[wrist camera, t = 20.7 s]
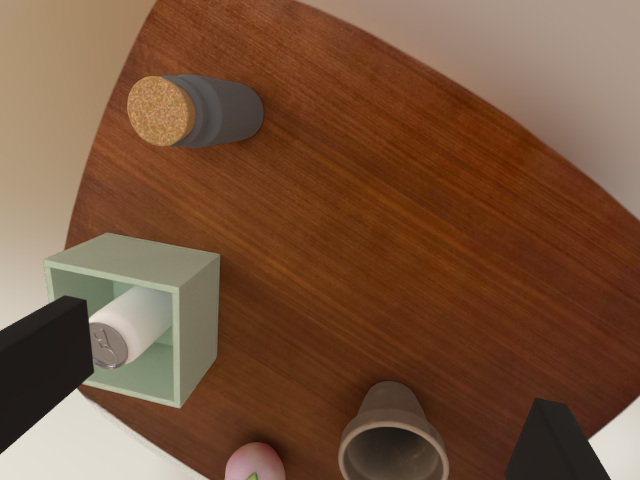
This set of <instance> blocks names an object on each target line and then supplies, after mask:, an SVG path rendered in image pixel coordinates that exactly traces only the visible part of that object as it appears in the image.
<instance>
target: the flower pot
mask: <svg viewBox="0 0 640 480" xmlns="http://www.w3.org/2000/svg"><path fill="white" fill-rule="evenodd" d="M338 461H339V467H340V470H341V473H342V475H343V477H344V478H345V480H447V478H448V474H449V462H448V458H447V455H446V450H445V447H444V443H443V440H442V438H441V436H440V435H439V433H438V432H437V430H436V429H435V428H434V427H433V426H432V425H431V424H430V423H429V422H428V421H427V419H426V417H425V414H424V412H423V410H422V408H421V406H420V404H419V402H418V400H417V398H416V396H415V395H414V393H413V392H412V391H411V390H410V389H409V388H408V387H407V386H405V385H403V384H401V383H399V382H395V381H383V382H380V383H377V384H375V385H374V386H372V387H371V388H370V389H369V391H368V392H367V394H366V396H365V398H364V400H363V402H362V404H361V407H360V409H359V411H358V414H357V416H356V417H355V418H353V419H352V420H351V421H350V422H349V423H348V425H347V426H346V428H345V429H344V431H343V434H342V437H341V442H340V448H339V453H338Z"/></svg>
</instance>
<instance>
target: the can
mask: <svg viewBox="0 0 640 480" xmlns="http://www.w3.org/2000/svg"><path fill="white" fill-rule="evenodd" d="M172 324H173V308H172V293H171V292H166V291H161V290H156V289H151V288H147V287H142V286H137V285H136V286H134V287H133V288H131V289H130V290H128V291H127V292H125V293H124V294H122V295H121V296H119V297H118V298H116V299H115V300H113V301H112V302H110V303H109V304H107V305H106V306H104V307H103V308H102V309H100V310H99V311H97V312H96V313H95V314H93V315H92V316H91V317H90V318H89V327H90V336H91V346H92V355H93V365H95V366H97V367H99V368H101V369H105V370H116V369H119V368H121V367H122V366H123V365H124V364H128V363H130V362H132V361H134V360H135V359H136V358H137V357H139V356H140V355H141V354H142V353H143V352H144V351H145V350H146V349H147V348H148V347H149V346H150V345H151V344H152V343H153V342H154V341H156V340H157V339H158V338H159V337H160V336H161V335H162V334H163V333H164V332H165V331H166V330H167V329H168V328H169V327H170V326H171V325H172Z"/></svg>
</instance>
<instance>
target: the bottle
mask: <svg viewBox="0 0 640 480" xmlns="http://www.w3.org/2000/svg"><path fill="white" fill-rule="evenodd" d="M127 110H128V116H129V119H130V122H131V124H132V126H133V128H134V129H135V131H136V132H137V133H138V135H139V136H140V137H142V138H143V139H144V140H145V141H147V142H149V143H150V144H153V145H157V146H176V147H179V146H184V147H188V148H201V147H208V146H214V145H219V144H224V143H230V142H235V141H241V140H245V139H248V138H250V137H252V136H253V135H255V134H256V133H257V132H258V130H259V129H260V127H261V125H262V122H263V117H264V110H263V105H262V102H261V100H260V98H259V96H258V95H257V93H256V92H255V91H254V90H252V89H251V88H250V87H248V86H246V85H244V84H240V83H236V82H231V81H226V80H221V79H216V78H211V77H206V76H200V75H193V74H180V75H177V76H161V77H157V76H149V77H146V78H143V79H141V80H139V81H138V82H137V83H136V84H135V85H134V86H133V88H132V89H131V91H130V94H129V97H128V102H127Z"/></svg>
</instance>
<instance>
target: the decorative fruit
mask: <svg viewBox="0 0 640 480" xmlns="http://www.w3.org/2000/svg"><path fill="white" fill-rule="evenodd" d="M224 480H285V471H284V467H283V464H282V461H281V459H280V458H279V456H278V454H277V453H276V452H275V450H274V449H273V448H272V447H270V446H269V445H267V444H265V443H261V442H253V443H248V444H246V445H244V446H242V447H240V448H239V449H238V450H237V451H235V452H234V453H233V455H232V456H231V457H230V459H229V461H228V463H227V466H226V472H225V479H224Z"/></svg>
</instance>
